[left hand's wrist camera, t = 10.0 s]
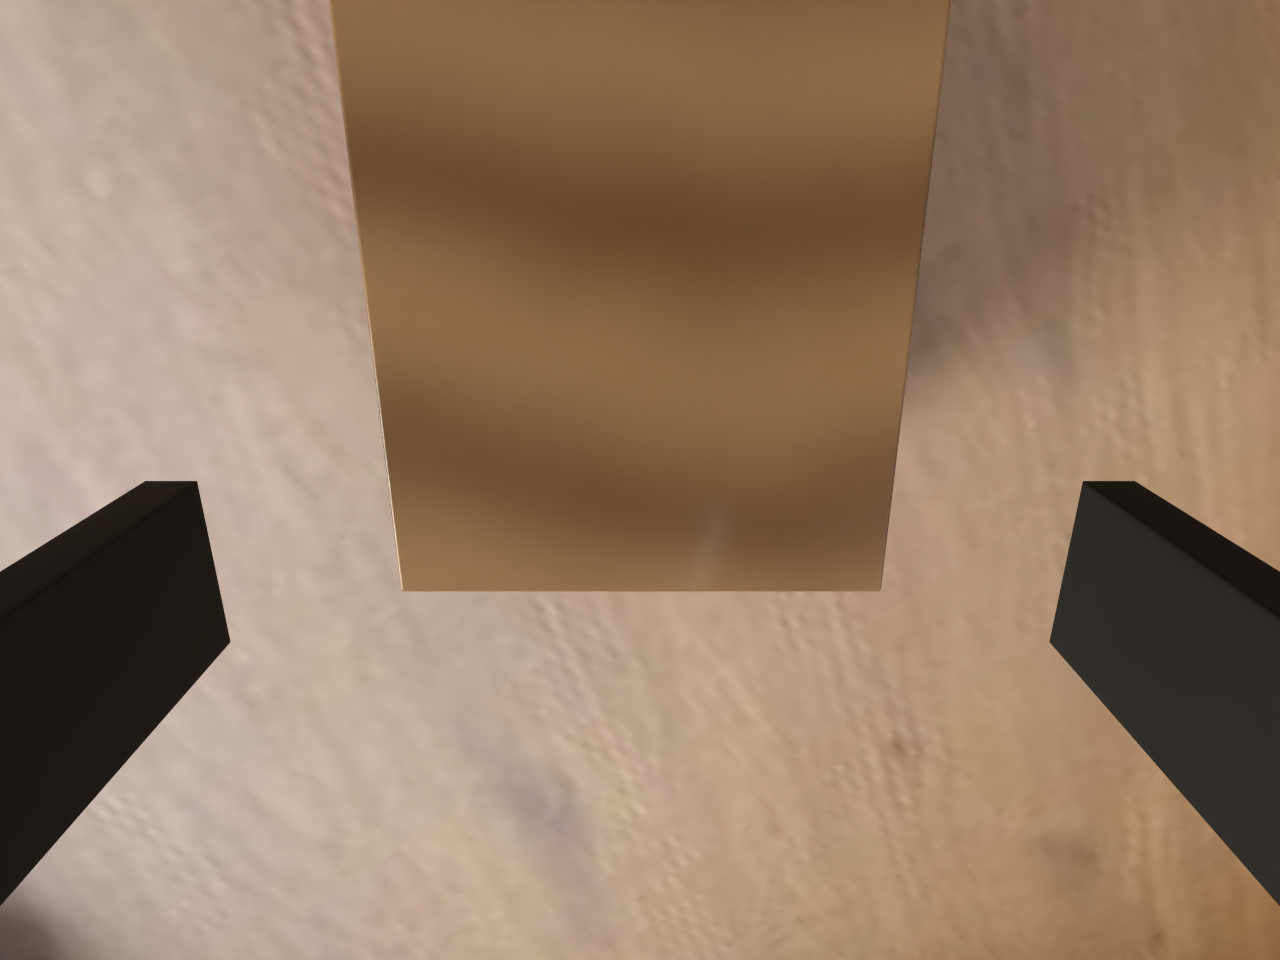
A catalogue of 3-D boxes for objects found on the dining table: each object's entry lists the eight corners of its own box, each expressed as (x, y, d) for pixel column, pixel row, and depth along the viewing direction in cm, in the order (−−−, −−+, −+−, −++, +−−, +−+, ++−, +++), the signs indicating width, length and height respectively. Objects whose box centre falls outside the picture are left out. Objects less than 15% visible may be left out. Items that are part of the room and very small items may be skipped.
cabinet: (440, -145, 23) (278, -394, 13) (840, -146, 23) (1000, -396, 13) (484, 444, 30) (400, 592, 19) (797, 444, 30) (881, 592, 19)
